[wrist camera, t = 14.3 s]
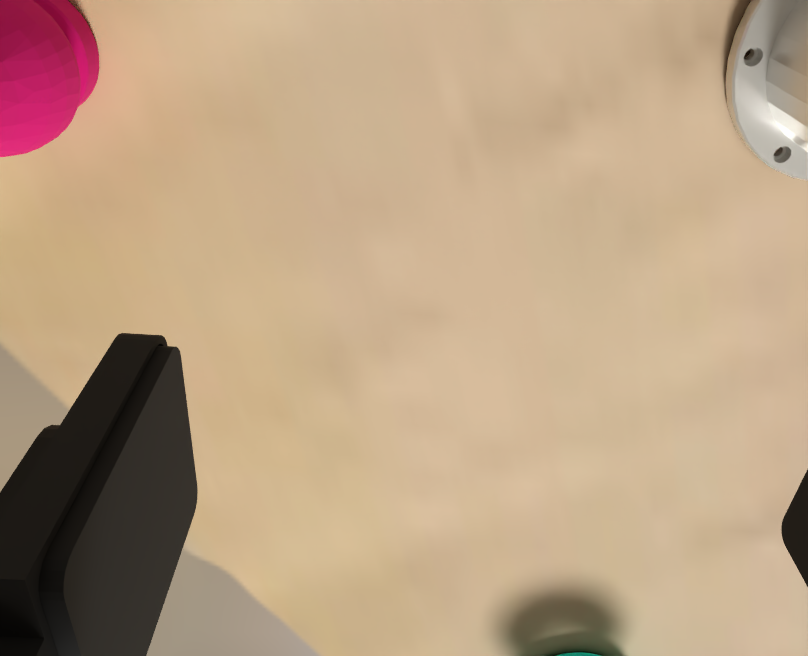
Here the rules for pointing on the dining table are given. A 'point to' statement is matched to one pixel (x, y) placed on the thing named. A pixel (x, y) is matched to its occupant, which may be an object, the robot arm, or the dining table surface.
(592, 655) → the donuts
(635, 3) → the dining table surface
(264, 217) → the dining table surface
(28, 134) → the pepper mill
